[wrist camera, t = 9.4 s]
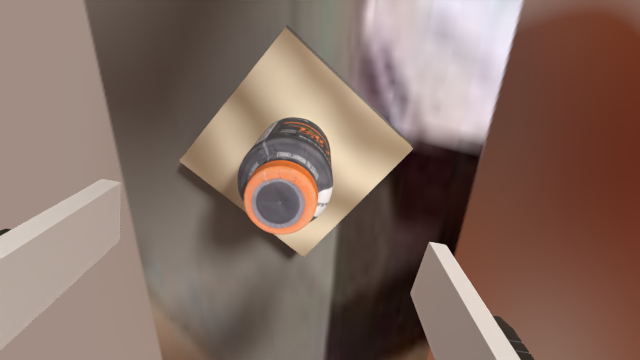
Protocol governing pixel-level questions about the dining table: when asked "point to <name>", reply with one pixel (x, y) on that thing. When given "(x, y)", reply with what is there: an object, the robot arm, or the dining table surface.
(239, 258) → the dining table surface
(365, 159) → the plate
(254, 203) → the pill bottle
